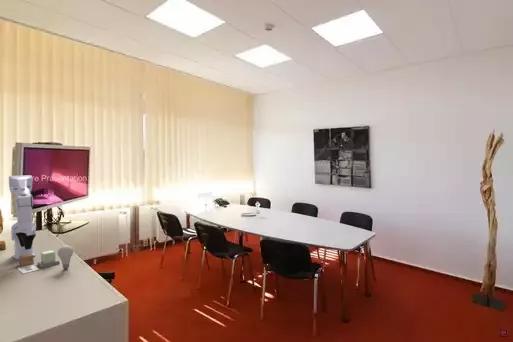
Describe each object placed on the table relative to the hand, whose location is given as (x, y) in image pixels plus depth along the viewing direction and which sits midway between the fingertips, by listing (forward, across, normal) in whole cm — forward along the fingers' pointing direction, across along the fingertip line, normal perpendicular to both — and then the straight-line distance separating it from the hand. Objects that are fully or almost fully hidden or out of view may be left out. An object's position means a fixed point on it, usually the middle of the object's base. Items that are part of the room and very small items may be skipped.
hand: (26, 247), depth 138 cm
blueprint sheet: (+8, +9, -2) cm, 12 cm away
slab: (+8, +9, +6) cm, 14 cm away
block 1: (+8, 0, 0) cm, 8 cm away
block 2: (+7, +9, +6) cm, 13 cm away
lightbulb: (+8, +23, +10) cm, 26 cm away
